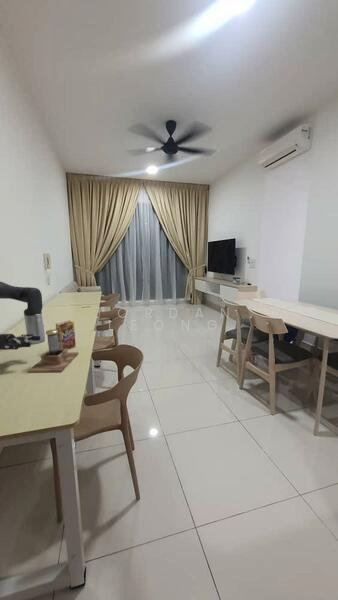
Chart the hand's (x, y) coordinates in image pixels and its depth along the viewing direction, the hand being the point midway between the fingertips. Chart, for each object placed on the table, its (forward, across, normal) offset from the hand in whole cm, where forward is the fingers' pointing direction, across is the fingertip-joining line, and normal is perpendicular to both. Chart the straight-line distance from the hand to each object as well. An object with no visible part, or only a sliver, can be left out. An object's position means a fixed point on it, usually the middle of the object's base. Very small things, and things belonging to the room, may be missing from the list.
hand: (35, 341), depth 116 cm
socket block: (+9, 0, +11) cm, 14 cm away
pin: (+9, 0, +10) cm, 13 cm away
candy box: (+7, +18, +11) cm, 22 cm away
